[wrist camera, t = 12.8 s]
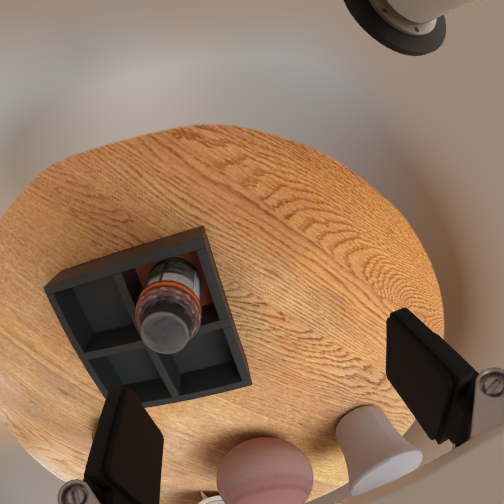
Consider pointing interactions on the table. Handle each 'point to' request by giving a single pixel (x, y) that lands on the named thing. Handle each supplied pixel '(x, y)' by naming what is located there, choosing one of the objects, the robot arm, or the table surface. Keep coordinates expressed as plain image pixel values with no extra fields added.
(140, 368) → the compartment organizer
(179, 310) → the supplement bottle
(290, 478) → the pink round ball
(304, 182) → the table surface
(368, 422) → the soap bottle
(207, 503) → the alarm clock
